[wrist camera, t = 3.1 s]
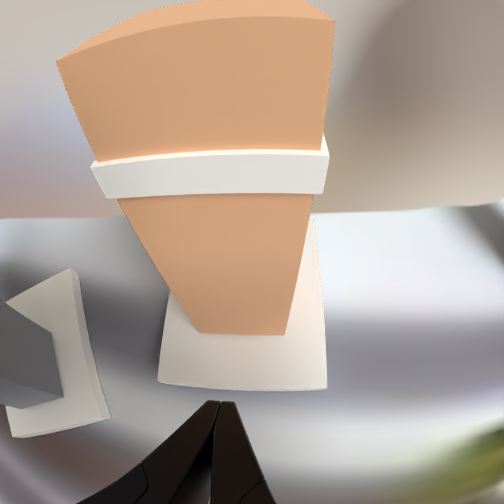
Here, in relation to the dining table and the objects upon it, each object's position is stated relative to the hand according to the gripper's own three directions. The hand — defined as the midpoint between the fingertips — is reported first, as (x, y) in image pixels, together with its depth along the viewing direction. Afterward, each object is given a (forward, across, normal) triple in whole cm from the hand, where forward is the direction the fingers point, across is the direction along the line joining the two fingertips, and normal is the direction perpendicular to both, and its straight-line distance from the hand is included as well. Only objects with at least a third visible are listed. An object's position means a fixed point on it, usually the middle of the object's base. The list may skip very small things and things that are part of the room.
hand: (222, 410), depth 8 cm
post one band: (+8, 0, -1) cm, 8 cm away
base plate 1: (+6, +14, +4) cm, 16 cm away
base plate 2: (+10, 0, 0) cm, 10 cm away
